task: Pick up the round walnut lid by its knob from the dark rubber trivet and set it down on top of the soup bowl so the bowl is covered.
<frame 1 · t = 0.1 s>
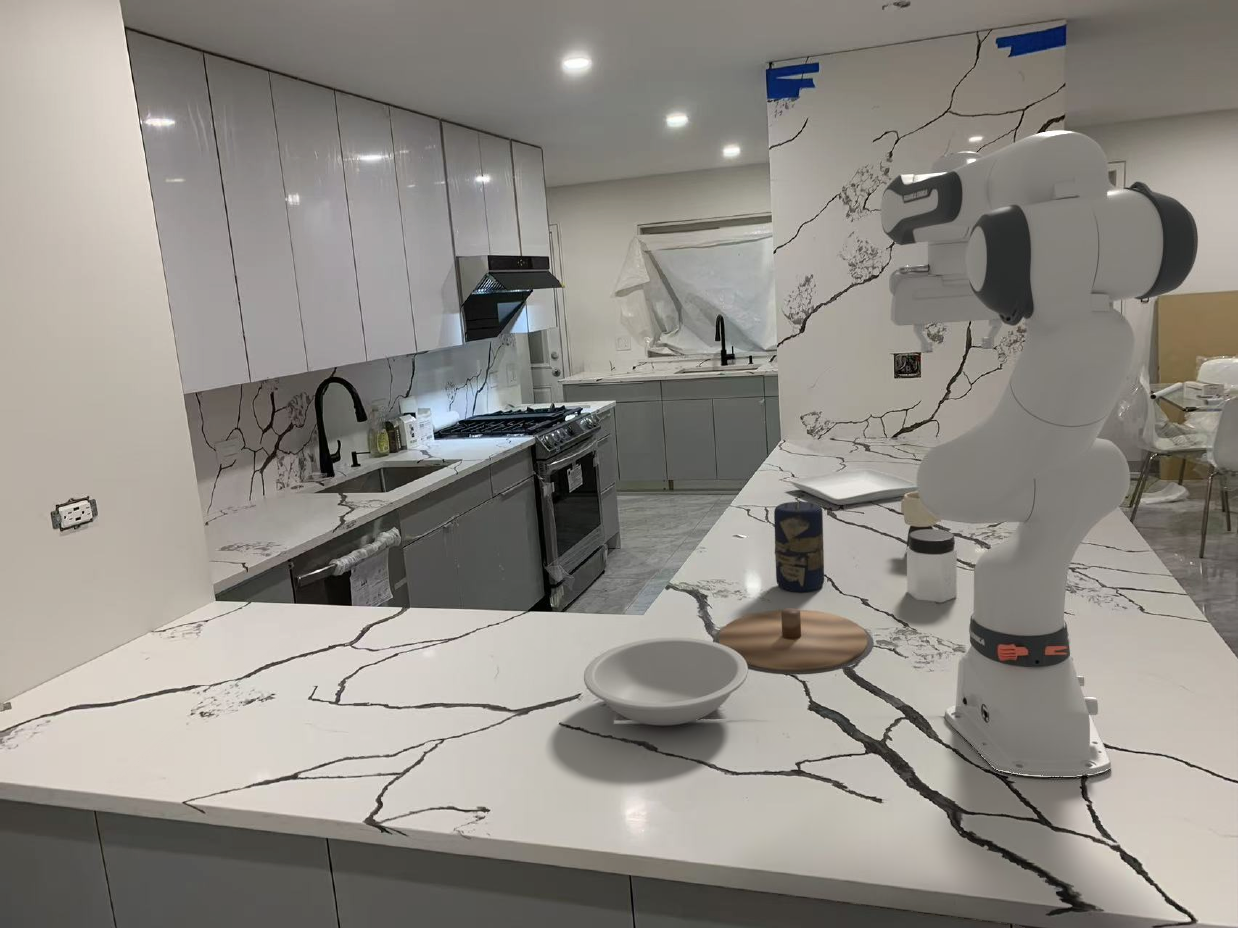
hand: (957, 350, 142), 48 cm above the worktop, tool pointing down, fingers open, 8 cm apart
canister: (800, 588, 179), on the worktop
trivet: (791, 642, 152), on the worktop
square plate: (853, 494, 252), on the worktop
soup bowl: (668, 711, 131), on the worktop
lid: (791, 640, 152), resting on trivet
character mug: (921, 553, 195), on the worktop
jar: (931, 596, 169), on the worktop
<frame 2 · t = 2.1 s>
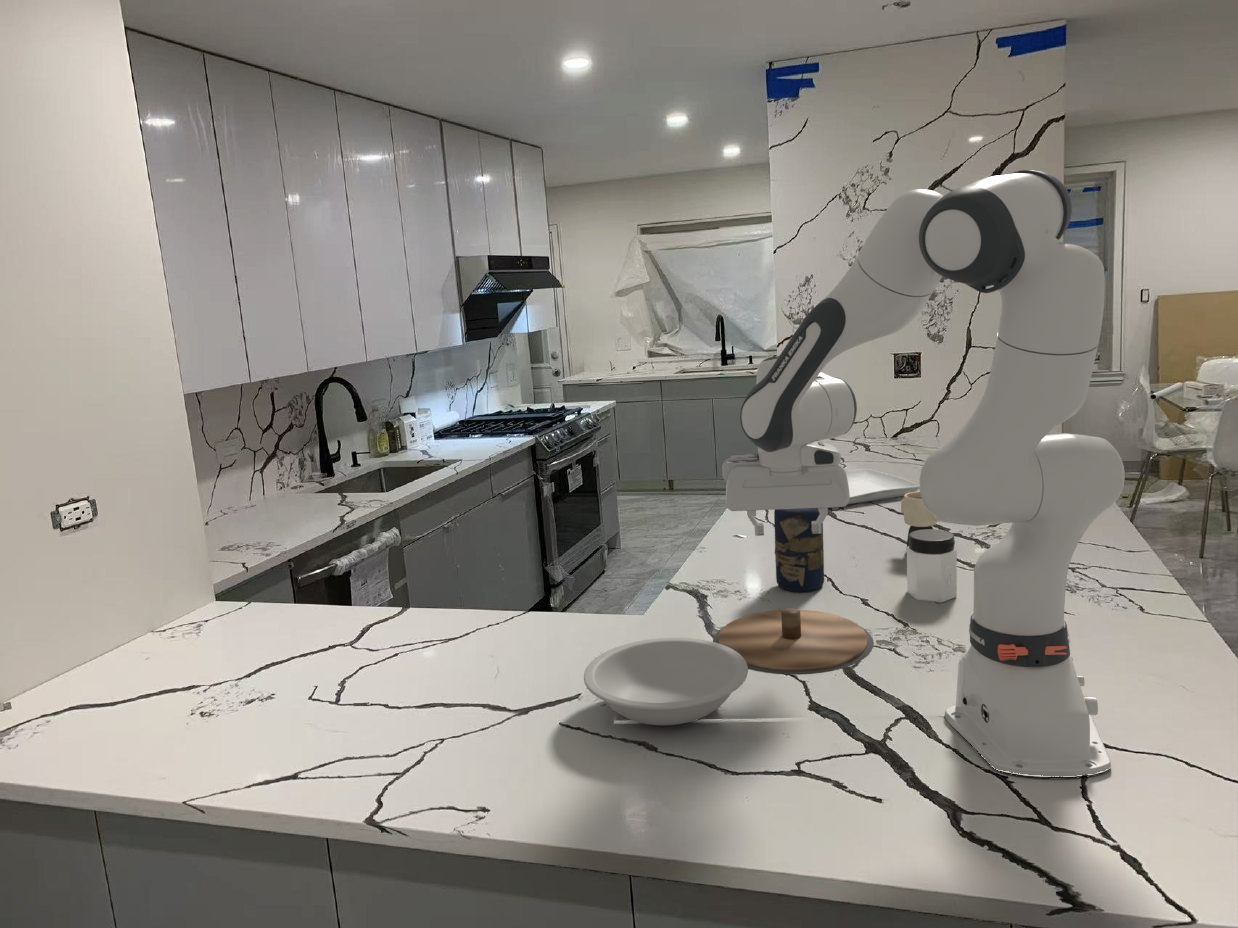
hand: (787, 533, 148), 19 cm above the worktop, tool pointing down, fingers open, 8 cm apart
nothing on the worktop moved.
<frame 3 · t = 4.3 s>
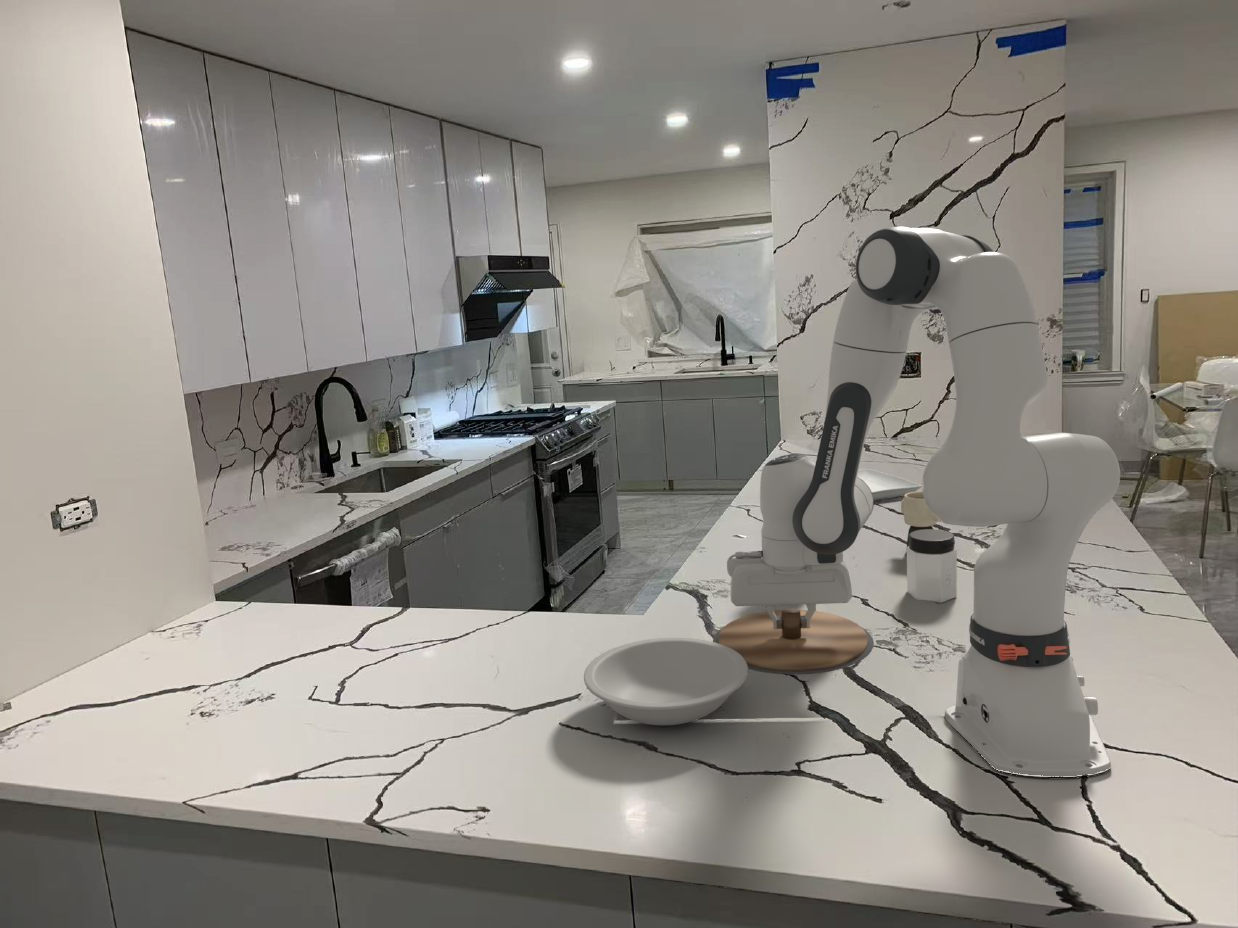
hand: (791, 627, 151), 3 cm above the worktop, tool pointing down, fingers closed on lid, 3 cm apart
lid: (791, 640, 152), resting on trivet, touching gripper
everything else where it was.
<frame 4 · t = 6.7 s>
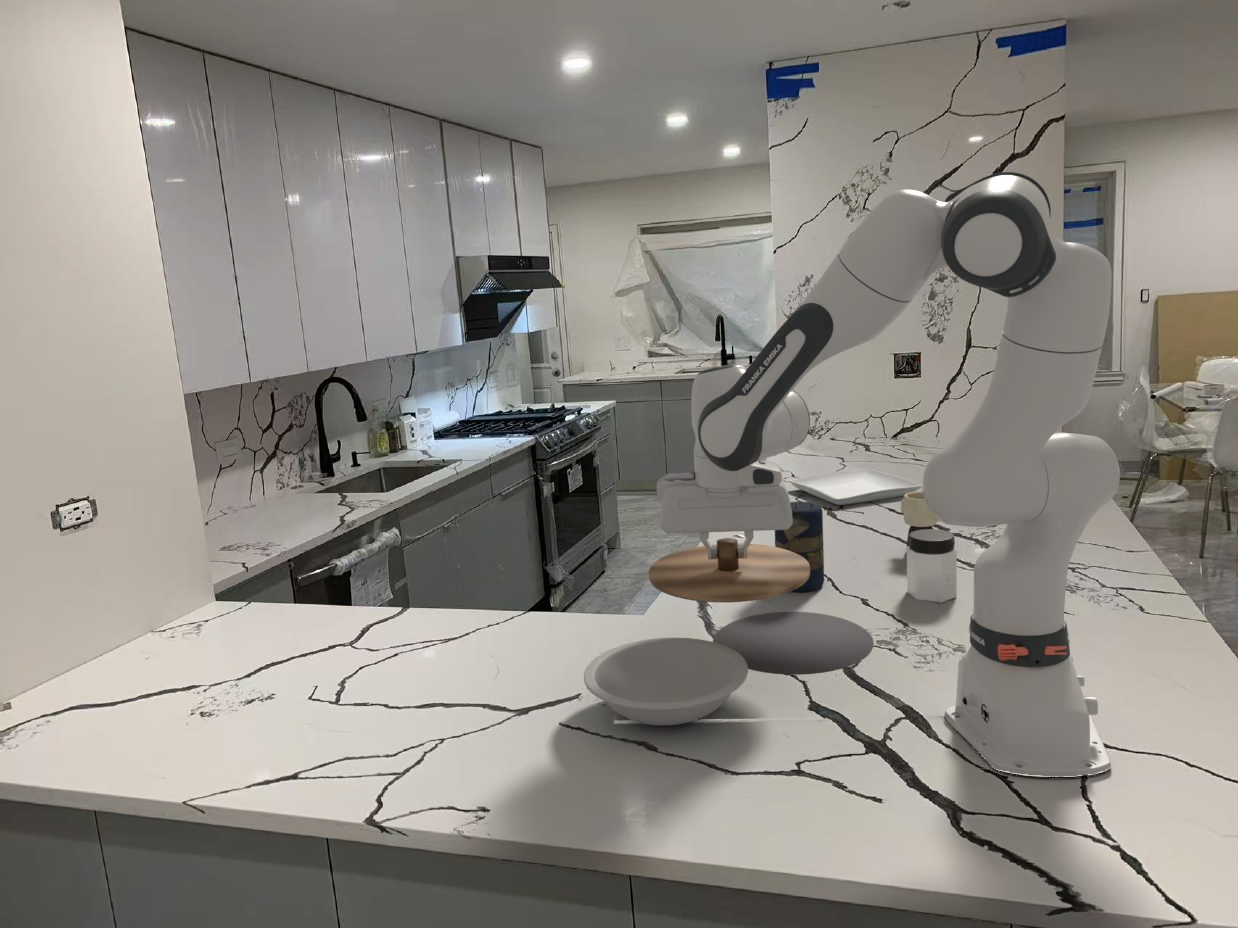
hand: (727, 557, 138), 19 cm above the worktop, tool pointing down, fingers closed on lid, 3 cm apart
lid: (728, 572, 139), point 17 cm above the worktop, touching gripper
everything else where it was.
when the fingers open (11 cm above the worktop, at t = 9.1 s): lid drops 1 cm, resting on soup bowl.
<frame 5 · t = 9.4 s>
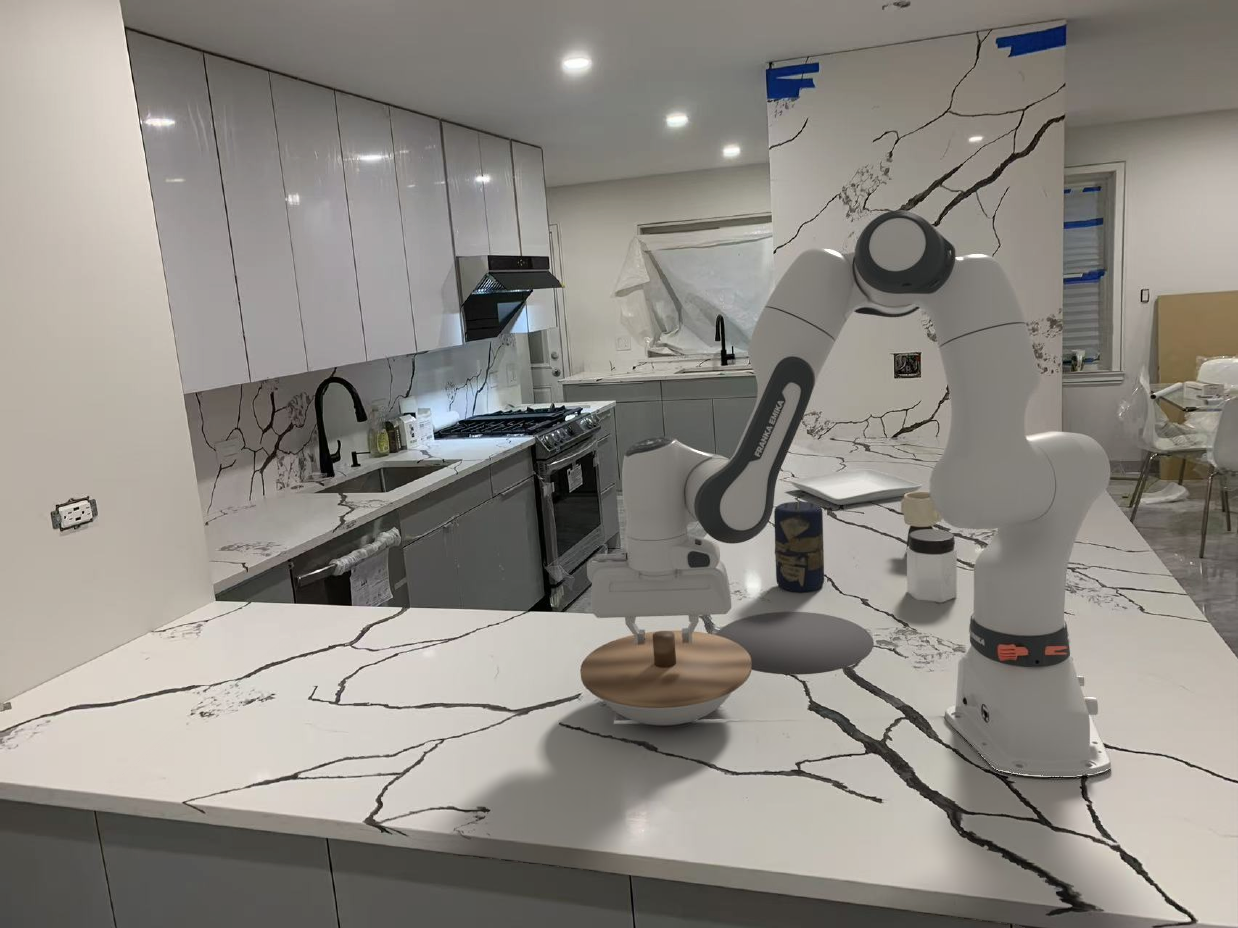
hand: (663, 642, 129), 11 cm above the worktop, tool pointing down, fingers open, 5 cm apart
soup bowl: (667, 711, 131), on the worktop, touching lid
lid: (665, 668, 130), point 6 cm above the worktop, touching soup bowl
everything else where it was.
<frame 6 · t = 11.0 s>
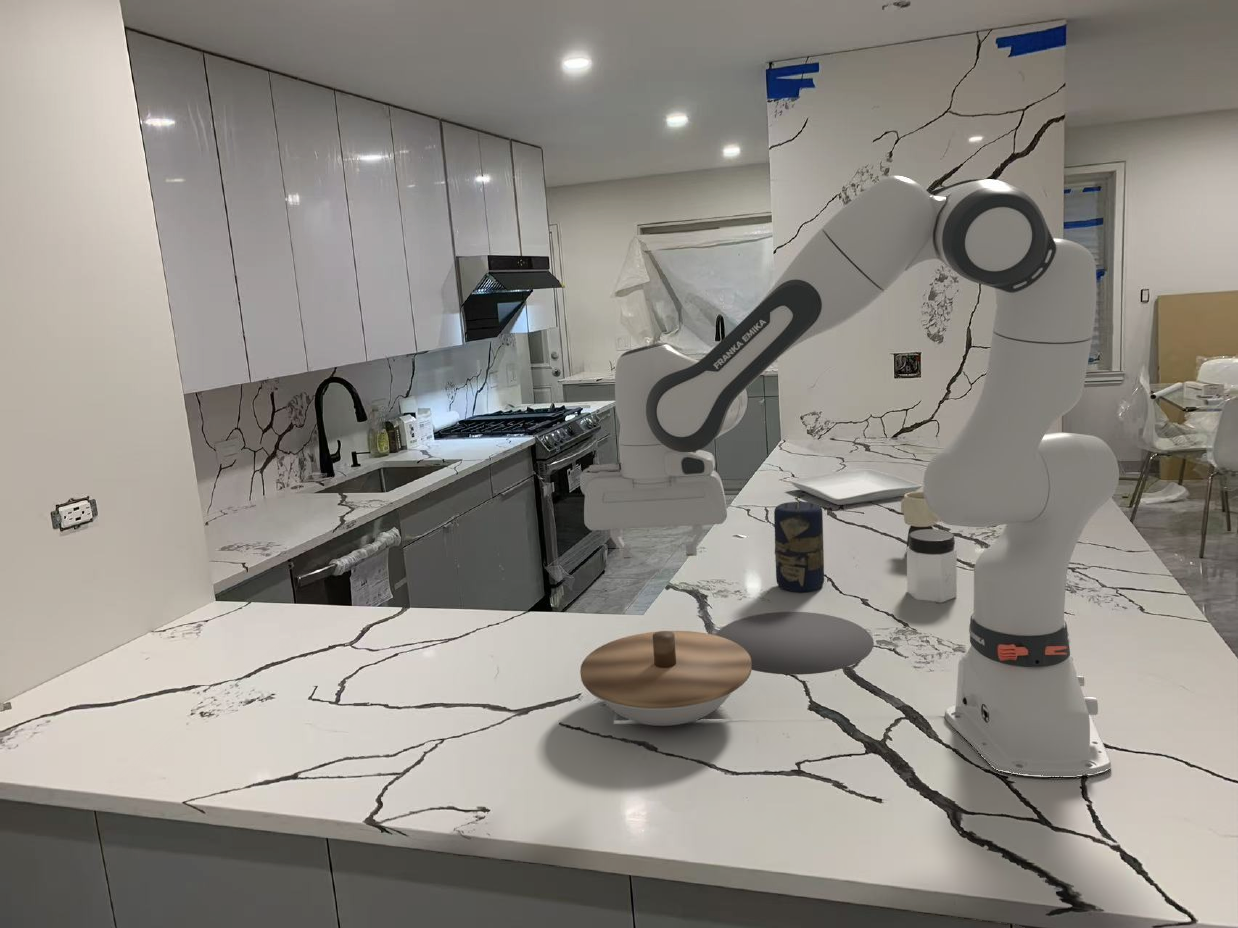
hand: (658, 556, 126), 24 cm above the worktop, tool pointing down, fingers open, 8 cm apart
nothing on the worktop moved.
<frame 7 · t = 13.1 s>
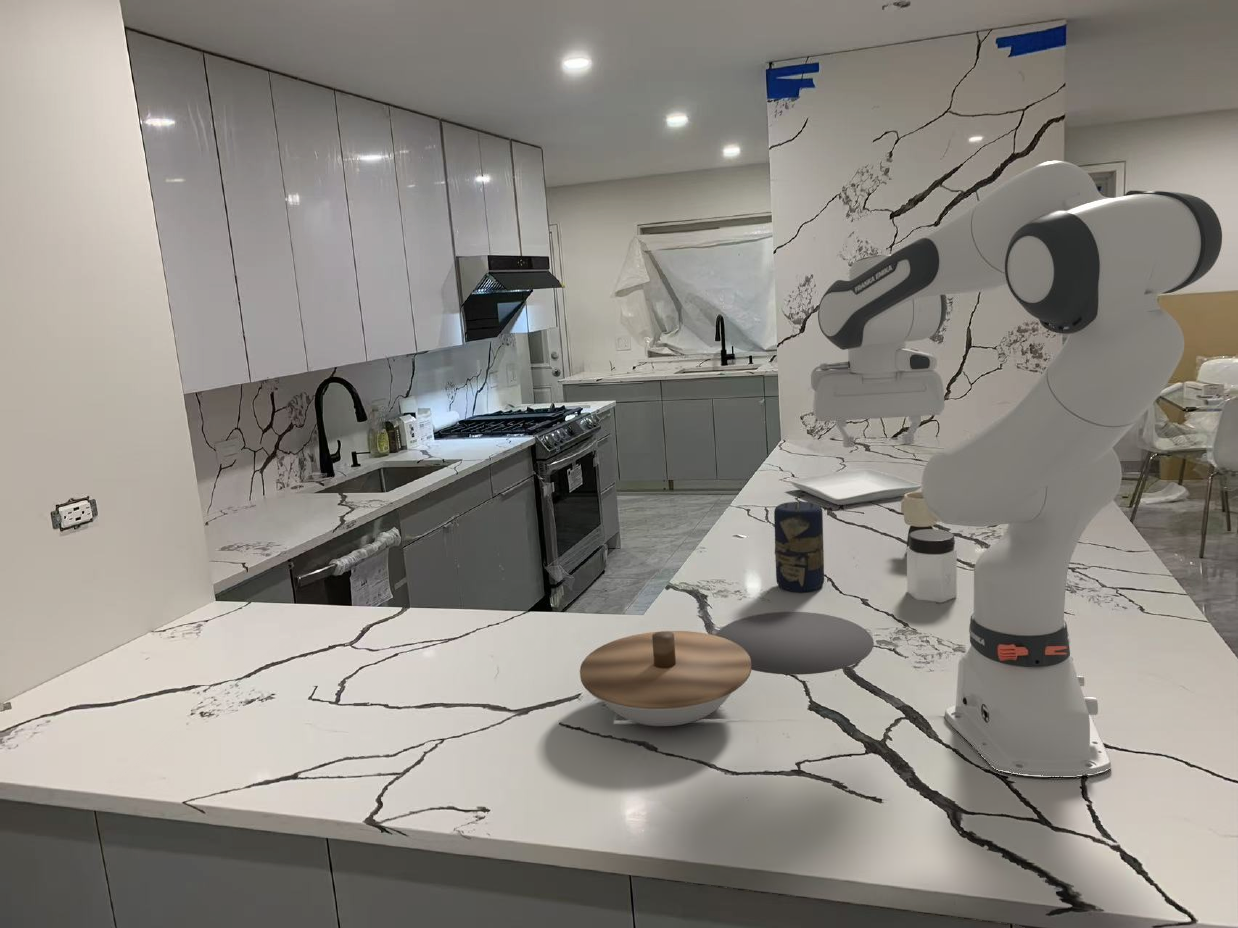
hand: (878, 445, 144), 34 cm above the worktop, tool pointing down, fingers open, 8 cm apart
nothing on the worktop moved.
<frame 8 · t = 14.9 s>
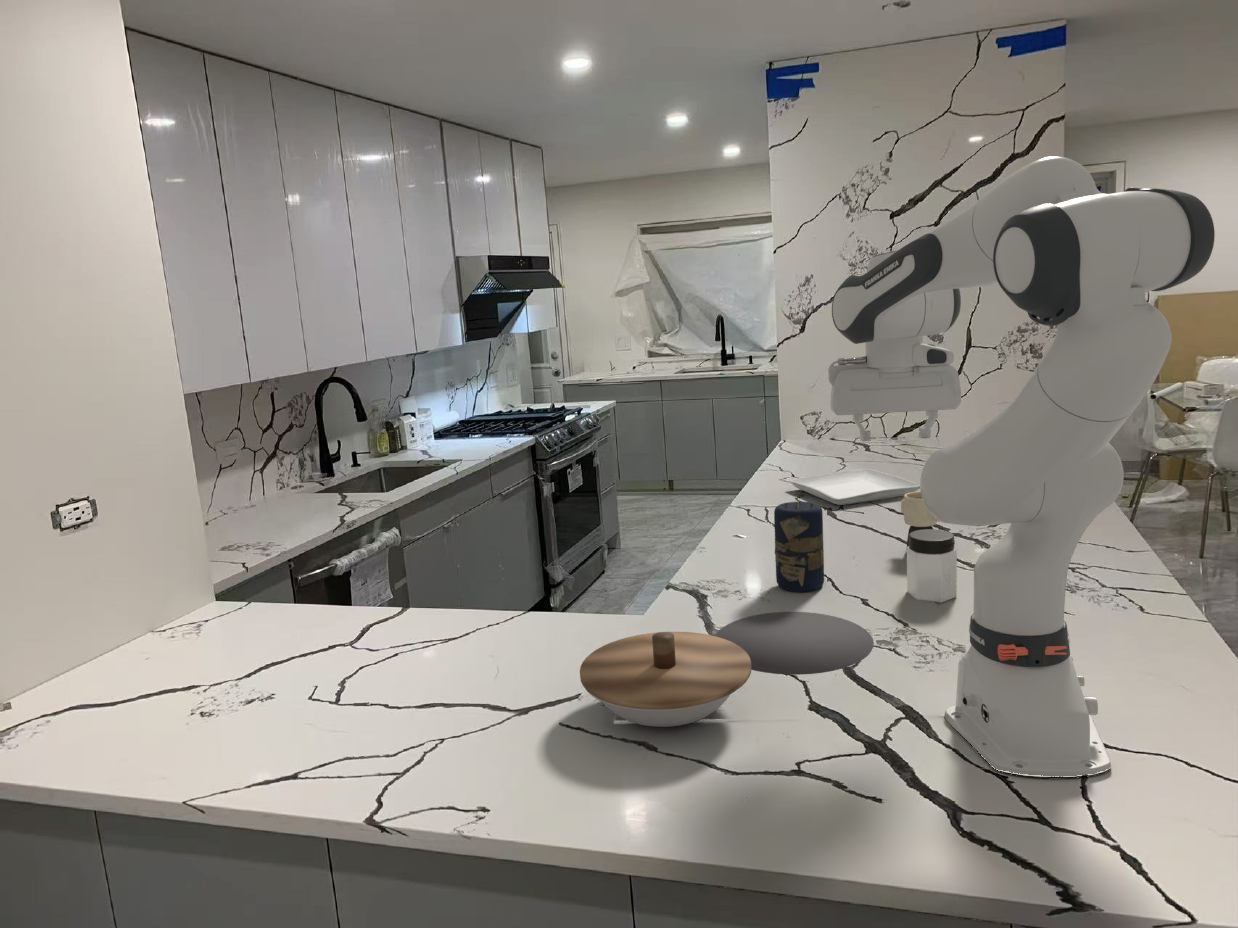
hand: (894, 439, 145), 34 cm above the worktop, tool pointing down, fingers open, 8 cm apart
nothing on the worktop moved.
at the end: lid inside the target area on the soup bowl (0.3 cm from its centre), point 6.8 cm above the soup bowl's base; lid tilted 0°; the gripper is holding nothing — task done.
